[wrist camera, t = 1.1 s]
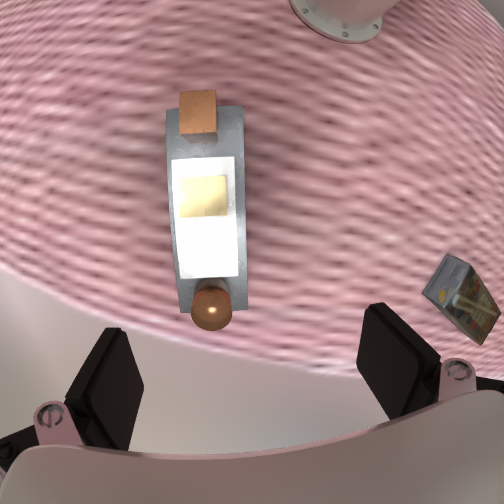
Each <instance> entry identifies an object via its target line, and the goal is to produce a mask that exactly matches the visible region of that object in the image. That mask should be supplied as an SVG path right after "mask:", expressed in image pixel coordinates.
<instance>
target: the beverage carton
mask: <svg viewBox="0 0 504 504" xmlns="http://www.w3.org/2000/svg"><path fill="white" fill-rule="evenodd" d="M423 295H424V296H425V297H426V298H428V299H429V300H430V301H431V302H432V303H433V304H434V305H435V306H436V307H437V308H438V309H439V310H440V311H441V312H442V313H443V314H444V315H445V316H446V317H447V318H448V319H449V320H450V321H451V322H452V323H453V324H454V325H455V326H456V327H457V328H458V329H459V330H460V331H461V332H463V333H464V334H465V335H466V336H468V337H469V338H470V339H472V340H473V341H474V342H476V343H477V344H479V345H480V346H481V345H482V344H483V342H484V341H485V339H486V337H487V336H488V334H489V333H490V331H491V330H492V328H493V326H494V324H495V323H496V321H497V319H498V318H499V316H500V314H501V312H500V310H499V308H498V306H497V304H496V303H495V301H494V299H493V298H492V296H491V294H490V293H489V291H488V290H487V288H486V287H485V285H484V284H483V282H482V280H481V279H480V278H479V276H478V275H477V274H476V272H475V270H474V269H473V267H472V266H471V265H470V264H469V263H467V262H464V261H463V260H461V259H459V258H456V257H454V256H450V255H446V256H445V257H444V259H443V261H442V263H441V264H440V266H439V268H438V269H437V271H436V273H435V274H434V276H433V277H432V279H431V280H430V282H429V284H428V285H427V286H426V288H425V290H424V291H423Z"/></svg>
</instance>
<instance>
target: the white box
mask: <svg viewBox="0 0 504 504" xmlns="http://www.w3.org/2000/svg"><path fill="white" fill-rule="evenodd" d="M172 182H173V200H174V215H175V228H176V240H177V251H178V261H179V270H180V279H186V278H209V277H229V276H238V260H237V233H236V203H235V167H234V157H211V158H194V159H181V160H172Z"/></svg>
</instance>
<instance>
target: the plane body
mask: <svg viewBox="0 0 504 504" xmlns="http://www.w3.org/2000/svg"><path fill="white" fill-rule="evenodd" d="M166 150H167V178H168V197H169V212H170V225H171V236H172V247H173V257H174V266H175V274H176V283H177V290H178V298H179V305H180V312H181V313H191V317H192V319H193V321H194V323H195V324H196V325H197V326H198V327H200V328H202V329H204V330H208V331H217V330H220V329H222V328H224V327H226V326H227V325H228V324H229V322H230V320H231V318H232V311H238V310H248V289H247V254H246V217H245V177H244V132H243V105H240V106H217V99H216V90H202V91H189V92H180V103H179V109H172V110H166ZM211 157H234V167H235V203H236V233H237V260H238V276H229V277H209V278H186V279H180V270H179V261H178V251H177V240H176V228H175V215H174V200H173V182H172V160H181V159H194V158H211Z"/></svg>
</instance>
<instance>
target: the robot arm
mask: <svg viewBox="0 0 504 504" xmlns="http://www.w3.org/2000/svg"><path fill="white" fill-rule="evenodd" d="M400 1H401V0H290V2H291V5H292V7H293V9H294V11H295V12H296V14H297V15H298V16H299V17H300V18H301V20H302V21H303V22H305V23H306V24H307V25H308V26H309V27H311V28H312V29H314V30H315V31H317V32H318V33H320V34H322V35H324V36H326V37H328V38H331V39H334V40H336V41H341V42H345V43H363V42H366V41H369V40H370V39H372V38H373V37H375V36H376V35H377V34H378V33H379V32H380V30H381V27H382V15H383V14H384V13H386V12H387V11H388V10H389V9H391V8H392V7H393V6H395V5H396V4H397V3H399V2H400ZM440 358H441V356H440V355H439V354H438V353H437V352H436V351H435V350H434V349H433V348H432V347H431V346H430V345H429V344H428V343H427V342H426V341H425V340H424V339H423V338H422V337H421V336H420V335H418V334H417V333H416V332H415V331H414V330H413V329H412V328H411V327H410V326H409V325H408V324H407V323H406V322H405V321H404V320H402V319H401V318H400V317H399V316H398V315H397V314H396V313H395V312H394V311H393V310H392V309H390V308H389V307H388V306H387V305H386V304H385V303H383V302H381V303H375V304H370V305H369V307H368V308H367V309H366V310H365V313H364V320H363V326H362V333H361V339H360V344H359V350H358V355H357V361H356V364H357V368H358V370H359V372H360V373H361V375H362V376H363V378H364V379H365V381H366V383H367V384H368V386H369V387H370V389H371V391H372V392H373V394H374V395H375V397H376V398H377V400H378V402H379V403H380V405H381V406H382V408H383V410H384V411H385V413H386V415H387V416H388V418H389V419H390V421H387V422H384V423H381V424H379V425H376V426H372V427H369V428H366V429H363V430H360V431H356V432H353V433H349V434H345V435H341V436H338V437H334V438H330V439H325V440H321V441H316V442H312V443H307V444H301V445H296V446H290V447H284V448H278V449H270V450H262V451H253V452H243V453H231V454H207V455H180V454H157V453H143V452H132V451H128V449H129V444H130V440H131V436H132V432H133V428H134V424H135V420H136V417H137V413H138V409H139V406H140V402H141V398H142V395H143V391H144V384H143V381H142V378H141V376H140V373H139V370H138V367H137V365H136V362H135V359H134V356H133V353H132V350H131V347H130V344H129V341H128V337H127V334H126V332H124V331H122V330H121V328H105V330H104V331H103V333H102V334H101V336H100V338H99V339H98V341H97V342H96V344H95V346H94V347H93V349H92V351H91V352H90V354H89V355H88V357H87V359H86V360H85V362H84V364H83V366H82V367H81V369H80V371H79V373H78V374H77V376H76V378H75V379H74V381H73V383H72V385H71V387H70V388H69V390H68V392H67V394H66V396H65V398H66V400H65V402H64V403H62V402H59V401H49V402H46V403H44V404H42V405H41V406H40V407H38V408H37V410H36V411H35V413H34V417H33V419H34V425H32V426H30V427H27V428H25V429H23V430H21V431H18V432H16V433H13V434H11V435H8V436H6V437H4V438H2V439H0V504H504V381H501V380H495V379H489V378H483V377H477V376H476V374H475V369H474V367H473V366H472V365H471V364H470V363H469V362H468V361H466V360H464V359H460V358H450V359H447V360H445V361H444V362H443V363H441V362H440V361H439V360H440Z"/></svg>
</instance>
